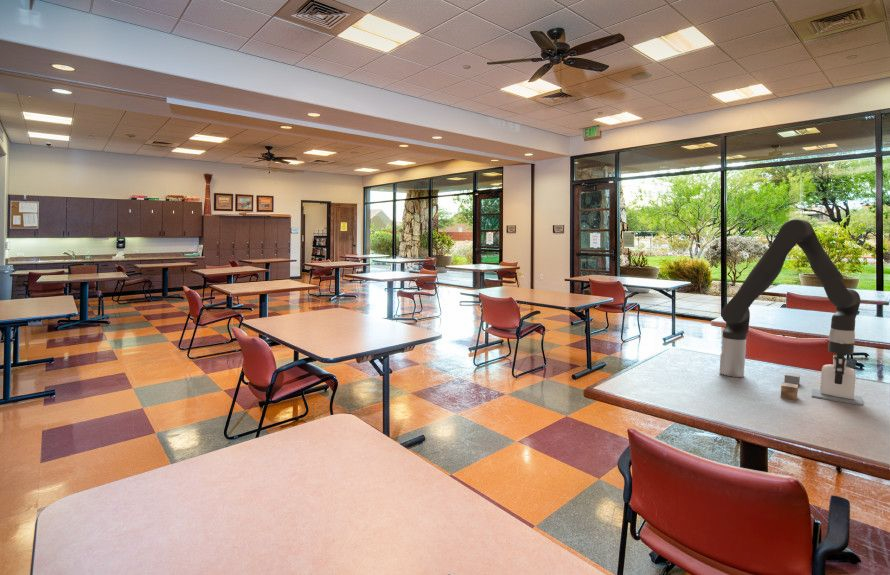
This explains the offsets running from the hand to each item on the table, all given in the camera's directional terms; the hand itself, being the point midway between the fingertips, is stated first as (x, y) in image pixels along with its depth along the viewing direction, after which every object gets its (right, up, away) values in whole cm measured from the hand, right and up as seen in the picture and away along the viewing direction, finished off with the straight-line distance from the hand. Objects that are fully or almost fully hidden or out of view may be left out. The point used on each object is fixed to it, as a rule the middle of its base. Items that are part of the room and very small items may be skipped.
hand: (837, 381), depth 179 cm
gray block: (-4, -5, +18) cm, 19 cm away
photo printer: (0, -6, +1) cm, 6 cm away
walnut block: (-18, -7, +2) cm, 19 cm away
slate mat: (0, -7, +1) cm, 7 cm away
